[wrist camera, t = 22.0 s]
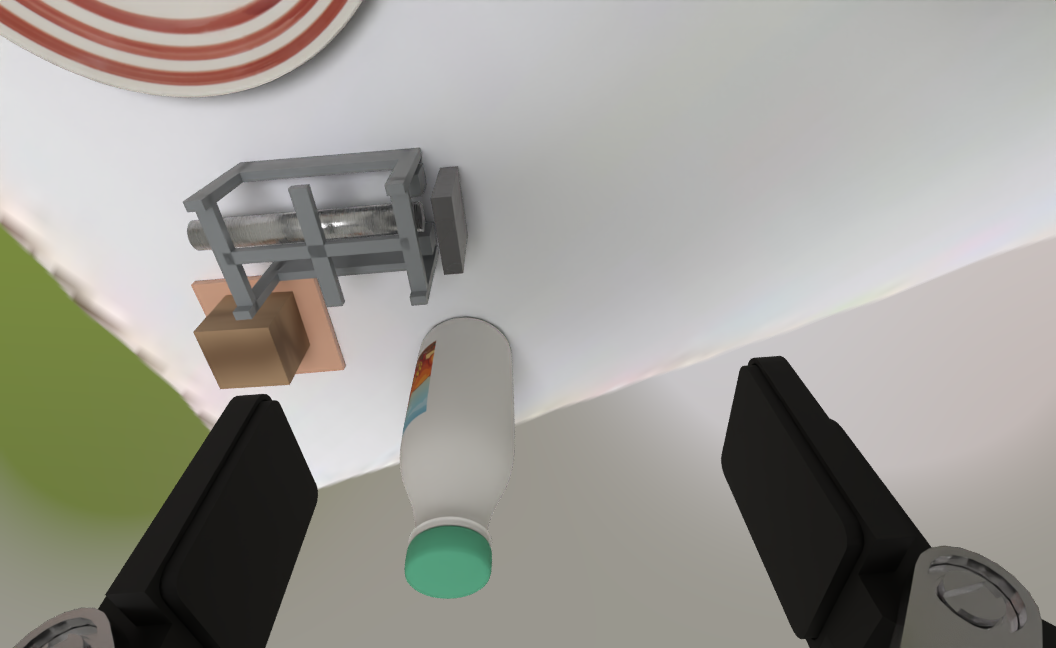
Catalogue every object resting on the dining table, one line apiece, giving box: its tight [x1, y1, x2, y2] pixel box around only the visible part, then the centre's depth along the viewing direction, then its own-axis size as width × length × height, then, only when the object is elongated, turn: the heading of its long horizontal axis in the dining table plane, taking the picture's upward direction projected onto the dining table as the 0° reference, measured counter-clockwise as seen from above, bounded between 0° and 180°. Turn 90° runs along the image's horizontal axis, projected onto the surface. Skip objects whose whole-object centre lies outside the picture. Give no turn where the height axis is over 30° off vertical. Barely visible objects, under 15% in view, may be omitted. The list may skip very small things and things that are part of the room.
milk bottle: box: [400, 317, 515, 599], centre depth 35 cm, size 8×8×20 cm
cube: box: [193, 291, 310, 389], centre depth 38 cm, size 5×5×5 cm
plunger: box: [187, 166, 468, 275], centre depth 34 cm, size 18×5×6 cm, turn 94°
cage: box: [183, 148, 439, 320], centre depth 33 cm, size 12×8×8 cm, turn 94°
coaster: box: [191, 276, 346, 374], centre depth 41 cm, size 9×9×1 cm
